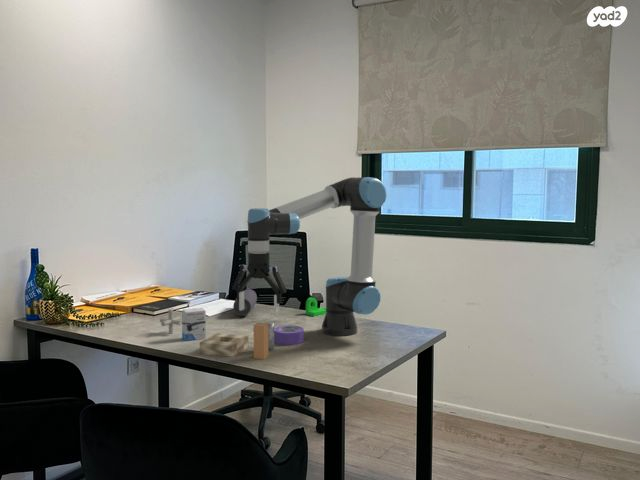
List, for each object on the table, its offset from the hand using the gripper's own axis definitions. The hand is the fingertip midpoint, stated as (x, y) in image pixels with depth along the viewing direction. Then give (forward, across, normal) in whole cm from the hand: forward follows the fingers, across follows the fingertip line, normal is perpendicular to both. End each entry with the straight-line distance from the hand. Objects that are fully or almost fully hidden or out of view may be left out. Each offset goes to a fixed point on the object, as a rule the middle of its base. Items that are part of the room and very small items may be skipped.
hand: (259, 311), depth 206 cm
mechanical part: (+17, +1, -72) cm, 74 cm away
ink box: (+17, +34, -13) cm, 40 cm away
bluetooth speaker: (+17, +35, -62) cm, 73 cm away
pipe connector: (+17, +48, -17) cm, 53 cm away
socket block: (+17, +16, -3) cm, 23 cm away
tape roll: (+17, -2, -23) cm, 29 cm away
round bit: (+17, 0, -9) cm, 19 cm away
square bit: (+17, -1, 0) cm, 17 cm away
